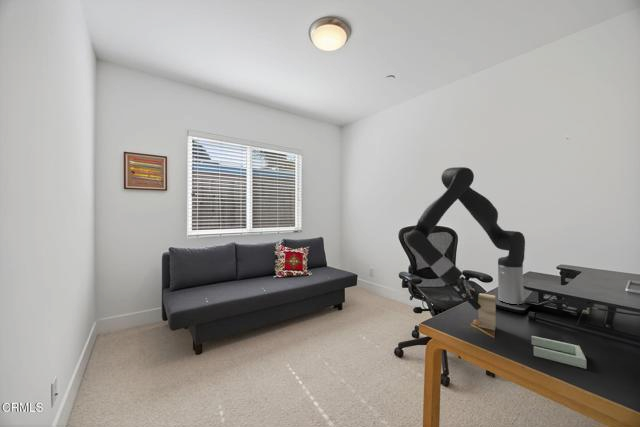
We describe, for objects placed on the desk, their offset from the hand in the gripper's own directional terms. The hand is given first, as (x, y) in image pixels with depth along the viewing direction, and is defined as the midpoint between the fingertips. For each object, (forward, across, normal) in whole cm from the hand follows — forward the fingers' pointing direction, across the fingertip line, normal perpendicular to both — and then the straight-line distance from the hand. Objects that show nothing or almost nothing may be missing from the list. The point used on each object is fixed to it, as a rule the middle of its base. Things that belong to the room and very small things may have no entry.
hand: (479, 304), depth 94 cm
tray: (+20, -8, -8) cm, 23 cm away
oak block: (+7, 0, +4) cm, 8 cm away
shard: (+8, 0, +5) cm, 10 cm away
